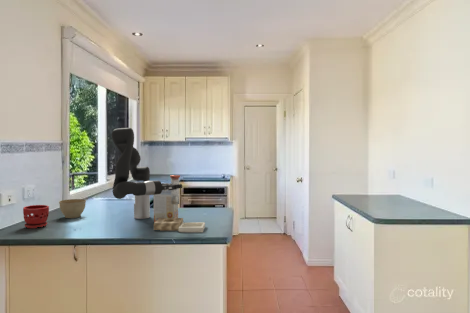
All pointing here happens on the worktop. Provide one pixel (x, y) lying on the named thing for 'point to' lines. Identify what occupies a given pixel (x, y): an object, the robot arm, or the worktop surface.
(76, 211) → the planter bowl
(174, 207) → the cracker box
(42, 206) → the plant pot
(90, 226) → the worktop surface
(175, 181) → the pin
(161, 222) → the socket block
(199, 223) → the tray
